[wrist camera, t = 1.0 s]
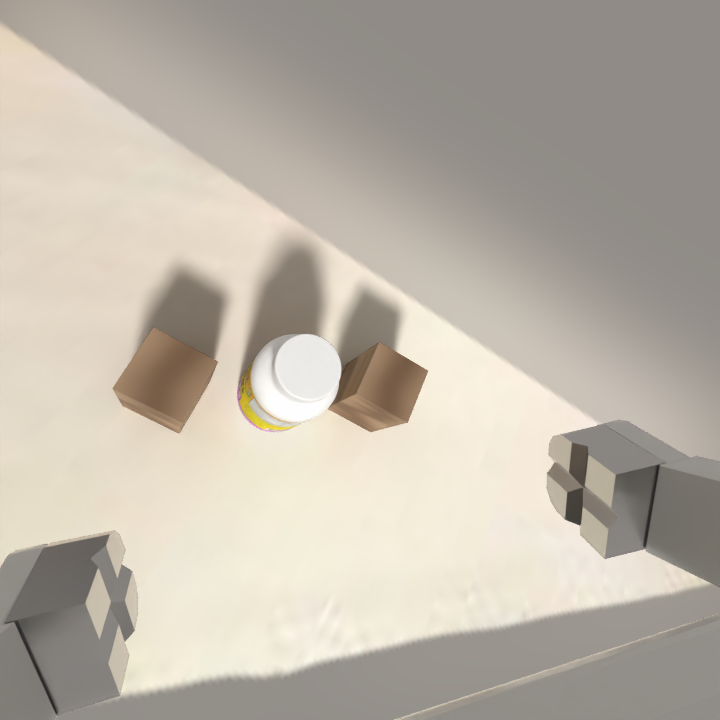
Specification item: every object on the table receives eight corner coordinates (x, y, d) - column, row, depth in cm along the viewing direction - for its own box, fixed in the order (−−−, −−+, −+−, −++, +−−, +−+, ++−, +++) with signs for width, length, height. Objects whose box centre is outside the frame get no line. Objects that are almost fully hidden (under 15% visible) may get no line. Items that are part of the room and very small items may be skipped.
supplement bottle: (268, 347, 45) (303, 299, 33) (321, 393, 46) (373, 362, 34) (219, 400, 42) (239, 369, 31) (276, 448, 43) (317, 435, 31)
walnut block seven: (326, 408, 46) (356, 393, 38) (347, 362, 48) (380, 340, 40) (370, 432, 47) (407, 422, 40) (389, 386, 49) (428, 369, 41)
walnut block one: (122, 405, 39) (112, 388, 32) (157, 353, 41) (154, 325, 34) (179, 433, 40) (181, 422, 33) (210, 381, 42) (218, 359, 35)
